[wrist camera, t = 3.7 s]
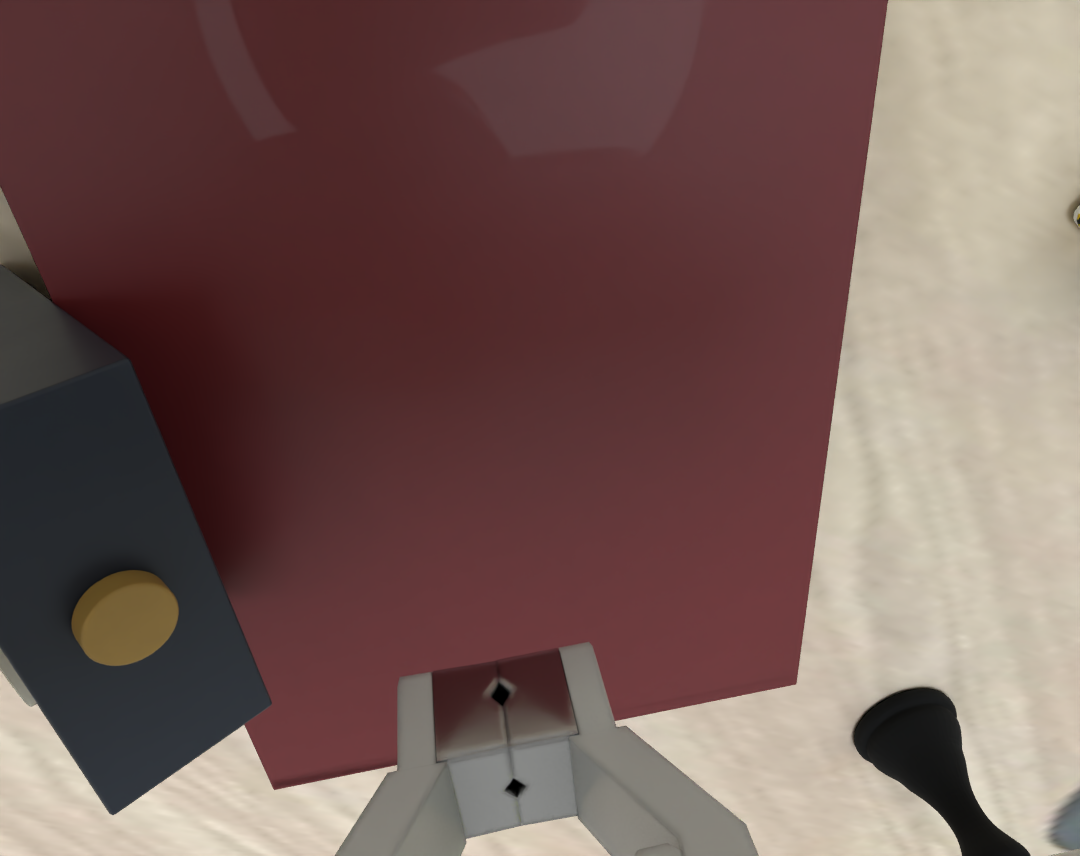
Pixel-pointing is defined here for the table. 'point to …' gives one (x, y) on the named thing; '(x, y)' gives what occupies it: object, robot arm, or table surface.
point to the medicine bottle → (1077, 216)
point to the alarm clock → (106, 563)
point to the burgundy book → (465, 320)
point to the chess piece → (931, 765)
